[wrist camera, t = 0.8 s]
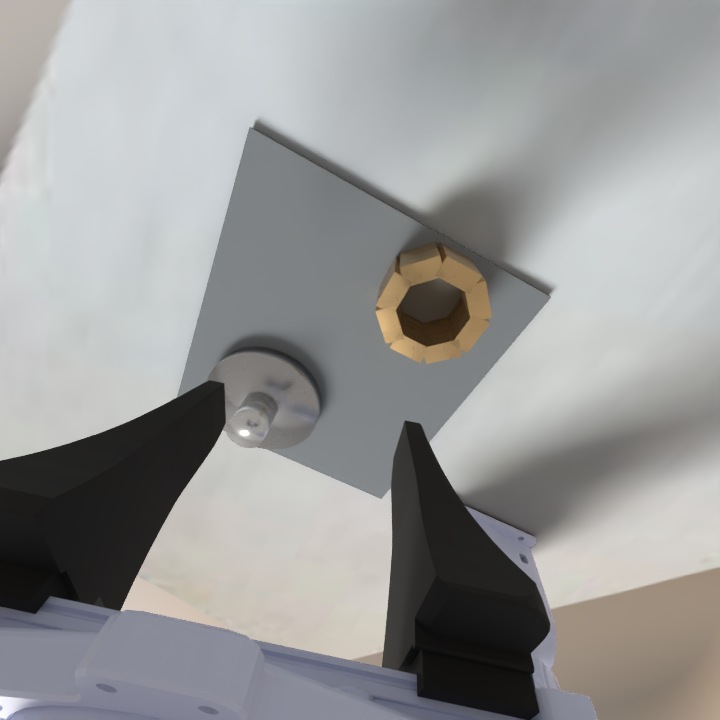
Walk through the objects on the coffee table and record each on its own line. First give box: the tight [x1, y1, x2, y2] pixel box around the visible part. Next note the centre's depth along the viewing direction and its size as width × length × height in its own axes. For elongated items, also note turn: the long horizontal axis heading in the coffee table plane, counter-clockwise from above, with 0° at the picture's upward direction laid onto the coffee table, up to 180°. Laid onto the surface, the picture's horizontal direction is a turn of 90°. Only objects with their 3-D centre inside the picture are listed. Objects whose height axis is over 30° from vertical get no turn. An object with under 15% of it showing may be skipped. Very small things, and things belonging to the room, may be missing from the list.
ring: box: [375, 242, 492, 364], centre depth 19 cm, size 5×5×3 cm
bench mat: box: [177, 127, 551, 499], centre depth 23 cm, size 18×20×1 cm
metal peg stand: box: [206, 347, 322, 449], centre depth 23 cm, size 8×8×4 cm
